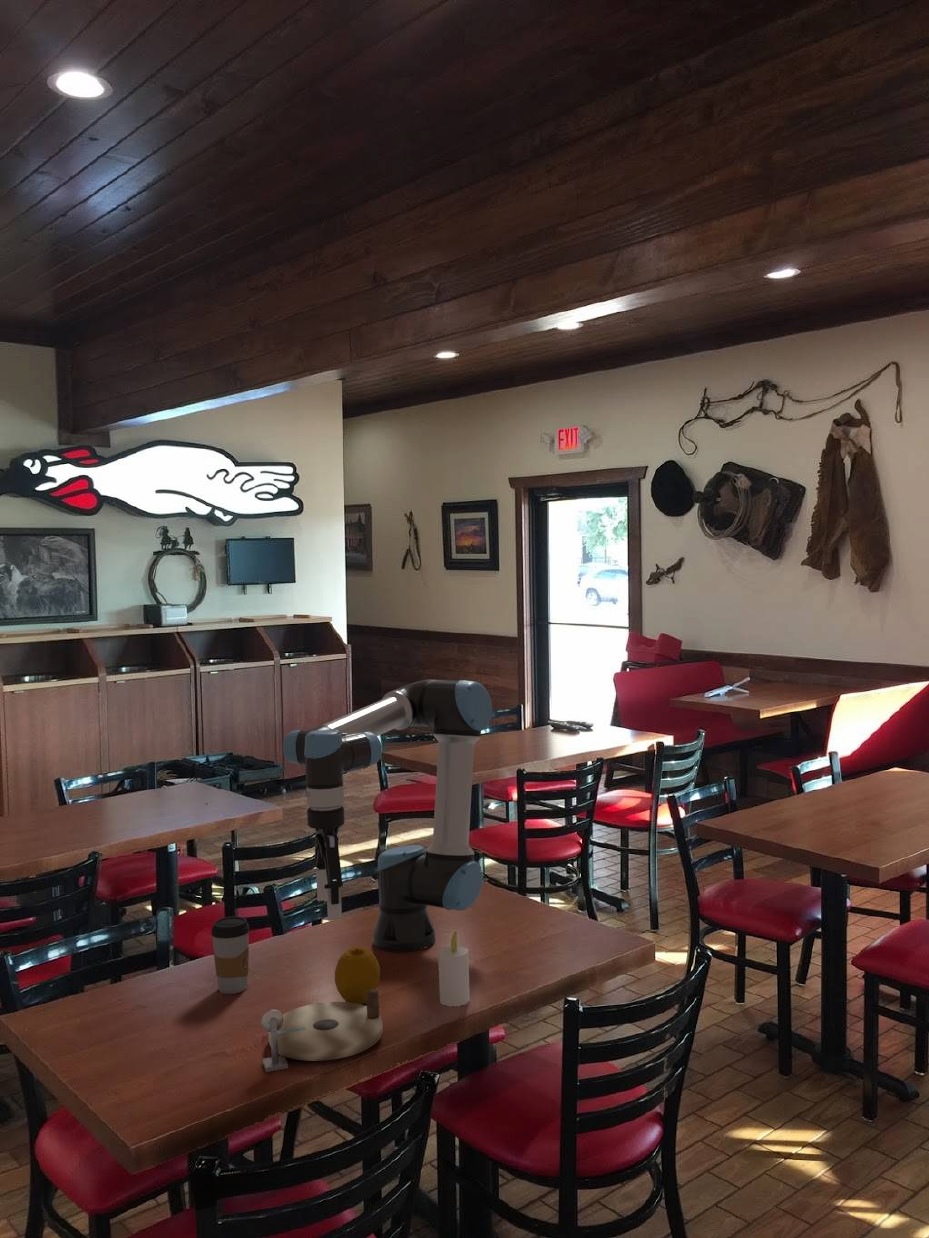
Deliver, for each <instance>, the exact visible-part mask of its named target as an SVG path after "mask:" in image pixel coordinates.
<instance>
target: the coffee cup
mask: <svg viewBox="0 0 929 1238" xmlns="http://www.w3.org/2000/svg"><path fill="white" fill-rule="evenodd" d="M249 932H250V924H249V923H248V920H247V918H245V917H242V916H226V917H221V918H219V919H216V920H215V921H213V924H212V927H211V936H212V945H213V958H214V967H215V975H216V980H217V981H216V982H217V989H218V990H219V992H220V993H222V994H224V995H225V994H227V995H232V994H234V995H235V994H239V993H242V992H244V991H245V990H246V989H247V987H248V984H249V983H248V982H249V979H248V978H249V977H248V976H249V961H250V960H249V952H250V951H249V949H250V948H249V939H250V938H249V937H250V936H249V935H250V933H249Z"/></svg>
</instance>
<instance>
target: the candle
mask: <svg viewBox="0 0 929 1238" xmlns="http://www.w3.org/2000/svg"><path fill="white" fill-rule="evenodd" d="M457 935H458V933H457V930H454V932H453V934H452V937H451V940H450V941H451V942H450V946H446V947H443V948H442V947H441V949H439V950H438V954H437V956H438V965H437V967H438V972H437V974H438V981H439V982H438V983H439V984H438V985H439V1002H440V1004H441V1005H443V1006H445V1005H446V1006H445V1007H450V1008H452V1007H451V1006H455V1007H456V1006H457V1007H462V1006H461V1005H463V1006H465V1005H467V1004H469V1003H470V1000H471V995H470V993H471V992H470V990H471V989H470V967H469V965H470V964H469V963H470V962H469V950H468V949H467V948H466V947H463V946H458V936H457ZM468 1002H469V1003H468ZM455 1007H454V1008H455Z"/></svg>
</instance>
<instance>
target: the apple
mask: <svg viewBox="0 0 929 1238" xmlns="http://www.w3.org/2000/svg"><path fill="white" fill-rule="evenodd" d="M379 963H380V962H379V961H378V959H377V957H376V956H375V955H374V953H373V951H370V950H369V949H367V948H365V947H363V946H359V947H358V946H357V947H351V948H348V949H347V950H346V951H344V952H343V953H342V954H341V956H340V957H339V959H338V960H337V963H336V967H335V971H334V984H335V987H336V990H337V991H338V993H339V995H340V996H341V998H342V999H343V1001H345V1002H349V1003H356V1004H361V1005H365V1004H367V1001H366V991H368V990H371V989H375V990H377V987H378V985H379V982H380V979H381V978H380V977H381V966H380V964H379Z"/></svg>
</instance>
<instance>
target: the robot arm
mask: <svg viewBox="0 0 929 1238" xmlns="http://www.w3.org/2000/svg"><path fill="white" fill-rule="evenodd" d="M492 703H493V702H492V699H491V696H490V694H489V691H488V690H487V688H486V687H485V686H484V685H483V684H481V683H480V682H477V681H474V680H473V681H472V680H465V679H460V680H458V679H454V680H453V679H430V678H428V679H423V680H419V681H415V682H411V683H408V684H406V685H403V686H401V687H397V688H395V689H393V690H391V691H389V692H387V693H385V694H384V695H383V697H382V698H381V699H380V700H378V701H376V702H375V701H374V702H373V703H372V704H368V705H367V706H364V707H361V708H359V709H357V710H355V711H353V712H350V713H349V712H348V713H347V714H345V715H343V716H340V717H338V718H336V719H333V720H331V721H329V722H327V723H324V724H321V725H318V726H315V727H314V728H311V729H308V730H305V729H298V730H297V729H295V730H291V731H290V732H288V733H287V734H286V736H285V737H284V739H283V742H282V752H283V756H284V758H285V760H286V761H287V762H288V763H290V764H294V765H299V766H300V767H301V766H304V767H305V780H306V781H305V784H306V786H305V787H306V790H307V791H304V792H303V797H305V798H306V806H307V807H308V809H307V810H306V820H307V821H306V822H307V827H309V828H311V829H314V830H315V839H314V840H315V841H314V859H313V862H314V864H315V869H316V870H315V871H316V872H315V873H316V874H315V875H316V899H317V900H316V901H317V902H322V901H323V902H324V901H326V902H327V903H326V905H327V909H326V910H327V920H328V921H336V920H337V921H338V920H342V919H343V912H342V908H343V907H342V887H343V886H344V885H343V884H344V882H343V878H342V877H343V876H342V867H341V859H340V850H339V836H338V835H336V832H335V829H336V828H339V827H342V826H343V825H344V824H345V807H344V806H343V805H344V803H345V796H344V794H345V791H344V789H345V788H344V774H347V773H349V772H354V771H359V770H362V769H363V770H364V769H367V768H368V767H371V766H374V765H376V764H378V762H380V760H381V758H382V753H383V747H382V742H381V740H380V738H379V736H381V735H383V734H385V733H387V732H390V731H392V730H398V731H399V730H405V729H406V728H408V727H409V728H410V727H427V728H428V727H430V728H432V736H433V737H434V738H435V739H436V740H437V742H438V749H437V751H438V752H437V762H436V763H437V764H436V765H437V767H436V781H435V782H436V784H435V798H434V812H433V814H434V816H433V817H434V818H433V830H432V832H433V833H432V843H431V844H430V845H429V846H428V847H427V848H425V847H424V846H423V845H419V844H412V845H402V846H397V847H393V848H389V849H387V850H384V851H382V852H381V853H380V854H379V855H378V858H377V870H376V871H377V881H378V886H377V887H378V900H379V902H378V903H379V904H378V905H379V913H378V917H377V921H376V923H375V927H374V931H373V945H374V946H375V947H376V948H377V949H379V950H381V951H382V950H383V951H385V950H386V951H385V952H391V953H392V952H393V953H407V951H409V952H415V951H414V950H416V951H419V950H418V949H420V950H422V949H421V948H424V947H426V946H429V945H430V946H432V945H433V944H434V943H435V942H436V930H435V927H434V925H433V923H432V920H431V917H430V914H429V911H428V906H430V907H434V908H440V909H444V910H448V911H452V910H453V911H466V910H467V909H469V908H471V906H473V905H474V903H475V902H476V900H477V899H478V898H479V895H480V893H481V890H482V888H483V881H484V871H483V870H482V866H481V865H480V864H479V863H478V862H477V861H475V851H474V850H473V848H472V847H471V846H470V844H469V842H470V841H469V839H470V836H469V835H470V826H471V825H470V824H471V821H470V820H471V805H472V804H471V803H472V789H473V788H472V787H473V770H474V757H475V756H474V751H475V745H476V743H477V742H478V741H480V739H481V738H482V731H483V730H486V729H487V728H488V727H489V725H490V722H491V721H492V717H493V704H492ZM434 941H435V942H434ZM433 942H434V943H433ZM432 943H433V944H432ZM431 944H432V945H431ZM430 946H429V947H430ZM426 948H427V947H426ZM424 949H425V948H424Z"/></svg>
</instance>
